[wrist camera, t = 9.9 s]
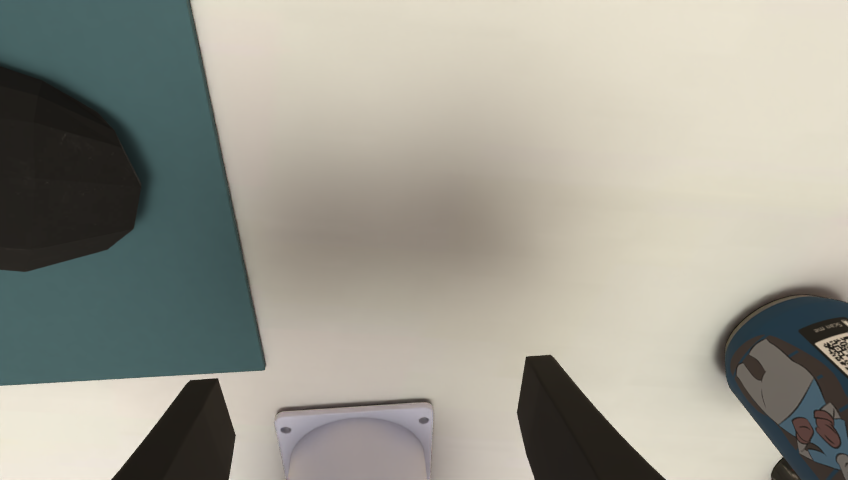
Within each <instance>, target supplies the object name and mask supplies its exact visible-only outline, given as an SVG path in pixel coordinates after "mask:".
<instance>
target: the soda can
mask: <svg viewBox="0 0 848 480" xmlns="http://www.w3.org/2000/svg"><path fill="white" fill-rule="evenodd" d="M725 370H726V378H727V382H728V385H729V387H730V389H731V390H732V392H733V393H734V394H735V395H736V397H737V398H738V399H739V401H740V402H741V403H742V404H743V406H744V407H745V408H746V410H747V411H748V412H749V413H750V415H751V416H752V417H753V418H754V420H755V421H756V422H757V424H758V425H759V426H760V427H761V429H762V430H763V431H764V433H765V434H766V435H767V436H768V438H769V439H770V440H771V442H772V443H773V444H774V445H775V447H776V448H777V449H778V450H779V452H780V453H781V454H782V456H783V457H784V458H785V459H786V461H787V462H788V463H789V465H790V466H791V467H792V468H793V470H794V471H795V472H796V473H797V475H798V476H799V477H800V479H801V480H848V303H846V302H843V301H838V300H834V299H828V298H823V297H817V296H810V295H796V296H790V297H786V298H782V299H779V300H776V301H773V302H771V303H769V304H767V305H765V306H763V307H761V308H759V309H758V310H756V311H754V312H753V313H752V314H750V315H749V316H748V317H746V318H745V319H744V320H743V321H742V322H741V323H740V324H739V325H738V326H737V327H736V328H735V329H734V331H733V332H732V334H731V335H730V337H729V339H728V341H727V344H726V347H725Z"/></svg>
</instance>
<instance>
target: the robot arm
mask: <svg viewBox="0 0 848 480" xmlns="http://www.w3.org/2000/svg"><path fill="white" fill-rule="evenodd" d="M517 415H518V420H519V424H520V429H521V433H522V438H523V442H524V446H525V451H526V455H527V458H528V461H529V464H530V467H531V469H532V472H533V475H534V478H535V480H666V479H665V478H663V477H662V476H661V475H660V474H659V473H658V472H657V471H656V470H655V469H654V468H653V467H652V466H651V465H650V464H649V463H648V462H647V461H646V460H645V459H644V458H643V457H642V456H641V455H640V454H639V453H638V452H637V451H636V450H635V449H634V448H633V447H632V446H631V445H630V444H629V443H628V442H627V441H626V440H625V439H624V438H623V437H622V436H621V435H620V434H619V433H618V432H617V431H616V429H615V428H614V427H613V426H612V425H611V424H610V423H609V422H608V421H607V420H606V419H605V417H604V416H603V415H602V414H601V413H600V412H599V411H598V410H597V409H596V407H595V406H594V405H593V404H592V403H591V402H590V401H589V399H588V398H587V397H586V396H585V395H584V394H583V392H582V391H581V390H580V389H579V388H578V386H577V385H576V384H575V383H574V382H573V380H572V379H571V378H570V377H569V376H568V374H567V373H566V372H565V371H564V369H563V368H562V367H561V366H560V365H559V363H558V362H557V361H556V360H555V358H554V357H553V356H551V355H542V356H528V357H526V360H525V366H524V373H523V379H522V385H521V391H520V397H519V403H518V410H517ZM274 424H275V429H276V434H277V438H278V443H279V448H280V452H281V457H282V462H283V466H284V471H285V476H286V480H430V472H431V453H432V433H433V407H432V405H431V404H430V403H427V402H418V403H402V404H387V405H372V406H357V407H342V408H327V409H312V410H296V411H283V412H280V413H278V414H277V415H276V416H275V422H274ZM235 436H236V435H235V432H234V429H233V426H232V422H231V419H230V416H229V413H228V409H227V406H226V403H225V400H224V397H223V393H222V390H221V387H220V384H219V381H218V378H216V379H202V380H190V381H189V382H188V383H187V384H186V385H185V387H184V388H183V389H182V391H181V392H180V393H179V395H178V396H177V397H176V399H175V400H174V401H173V403H172V404H171V405H170V407H169V408H168V409H167V411H166V412H165V413H164V415H163V416H162V417H161V419H160V420H159V421H158V422H157V424H156V425H155V426H154V428H153V429H152V430H151V431H150V433H149V434H148V435H147V437H146V438H145V439H144V440H143V442H142V443H141V444H140V445H139V447H138V448H137V449H136V450H135V452H134V453H133V454H132V455H131V457H130V458H129V459H128V460H127V461H126V463H125V464H124V465H123V466H122V468H121V469H120V470H119V471H118V472H117V474H116V475H115V476H114V477H113V478H112V479H111V480H229V474H230V468H231V463H232V456H233V449H234V443H235Z"/></svg>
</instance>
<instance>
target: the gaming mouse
mask: <svg viewBox="0 0 848 480" xmlns="http://www.w3.org/2000/svg"><path fill="white" fill-rule="evenodd" d="M140 192H141V182H140V180H139V178H138V176H137V174H136V172H135V170H134V168H133V166H132V164H131V162H130V160H129V158H128V156H127V154H126V152H125V150H124V148H123V146H122V144H121V142H120V140H119V138H118V136H117V134H116V132H115V131H114V129H113V128H112V127H111V126H110V125H109V124H108V123H107V122H106V121H105V120H104V119H103V118H102V116H101V115H100V114H99V113H98V112H97V111H95V110H93V109H91V108H90V107H88V106H86V105H84V104H83V103H81V102H79V101H77V100H76V99H74V98H72V97H71V96H69V95H67V94H65V93H64V92H62V91H60V90H58V89H57V88H55V87H53V86H51V85H50V84H48V83H46V82H44V81H43V80H40V79H37V78H34V77H31V76H28V75H25V74H22V73H19V72H16V71H13V70H10V69H7V68H4V67H1V66H0V270H8V271H20V272H28V271H32V270H35V269H39V268H43V267H46V266H50V265H54V264H57V263H61V262H65V261H68V260H72V259H76V258H79V257H83V256H87V255H90V254H94V253H98V252H101V251H105V250H108V249H109V248H110V247H112V246H113V245H114V244H115V243H117V242H118V241H119V240H120V239H122V238H123V237H124V236H125V235H127V234H128V233H129V232H131V231H132V230H133V229H134V225H135V220H136V214H137V209H138V203H139V197H140Z"/></svg>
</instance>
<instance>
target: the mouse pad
mask: <svg viewBox="0 0 848 480" xmlns="http://www.w3.org/2000/svg"><path fill="white" fill-rule="evenodd" d="M0 66H1V67H4V68H7V69H10V70H13V71H16V72H19V73H22V74H25V75H28V76H31V77H34V78H37V79H40V80H43V81H44V82H46V83H48V84H50V85H51V86H53V87H55V88H57V89H58V90H60V91H62V92H64V93H65V94H67V95H69V96H71V97H72V98H74V99H76V100H77V101H79V102H81V103H83V104H84V105H86V106H88V107H90V108H91V109H93V110H95V111H97V112H98V113H99V114H100V115H101V116H102V118H103V119H104V120H105V121H106V122H107V123H108V124H109V125H110V126H111V127H112V128H113V129H114V131H115V132H116V134H117V136H118V138H119V140H120V142H121V144H122V146H123V148H124V150H125V152H126V154H127V156H128V158H129V160H130V162H131V164H132V166H133V168H134V170H135V172H136V174H137V176H138V178H139V180H140V182H141V192H140V197H139V203H138V209H137V214H136V220H135V225H134V229H133V230H132V231H131V232H129V233H128V234H127V235H125V236H124V237H123V238H122V239H120V240H119V241H118V242H117V243H115V244H114V245H113V246H112V247H110V248H109V249H108V250H105V251H101V252H98V253H94V254H90V255H87V256H83V257H79V258H76V259H72V260H68V261H65V262H61V263H57V264H54V265H50V266H46V267H43V268H39V269H35V270H32V271H28V272H20V271H8V270H0V386H3V385H21V384H38V383H55V382H72V381H89V380H107V379H124V378H141V377H158V376H176V375H193V374H210V373H227V372H244V371H262V370H265V366H266V365H265V361H264V356H263V351H262V346H261V342H260V337H259V332H258V327H257V322H256V318H255V313H254V308H253V303H252V298H251V294H250V289H249V284H248V279H247V274H246V270H245V265H244V260H243V255H242V251H241V246H240V241H239V236H238V231H237V227H236V222H235V217H234V212H233V207H232V203H231V198H230V193H229V188H228V183H227V179H226V174H225V169H224V164H223V160H222V155H221V150H220V145H219V140H218V136H217V131H216V126H215V121H214V116H213V112H212V107H211V102H210V97H209V92H208V88H207V83H206V78H205V73H204V69H203V64H202V59H201V54H200V49H199V45H198V40H197V35H196V30H195V25H194V21H193V16H192V11H191V6H190V1H189V0H0Z"/></svg>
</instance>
